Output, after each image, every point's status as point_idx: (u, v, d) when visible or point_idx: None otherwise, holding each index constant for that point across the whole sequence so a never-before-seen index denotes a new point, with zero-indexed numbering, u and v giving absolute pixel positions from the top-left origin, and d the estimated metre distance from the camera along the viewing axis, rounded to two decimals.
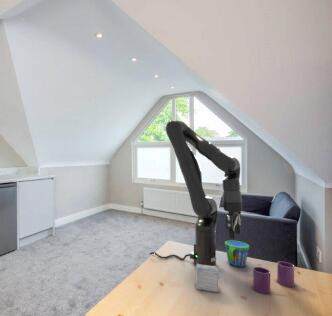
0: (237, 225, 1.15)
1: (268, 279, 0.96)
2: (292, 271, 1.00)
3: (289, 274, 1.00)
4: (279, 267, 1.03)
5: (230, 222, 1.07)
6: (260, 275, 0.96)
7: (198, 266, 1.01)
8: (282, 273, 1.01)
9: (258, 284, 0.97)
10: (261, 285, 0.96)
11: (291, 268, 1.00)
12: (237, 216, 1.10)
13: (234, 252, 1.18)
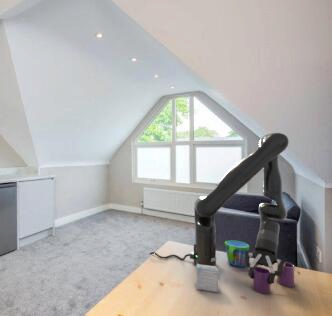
0: None
1: (268, 279, 0.96)
2: (292, 271, 1.00)
3: (289, 274, 1.00)
4: None
5: None
6: (260, 275, 0.96)
7: (198, 266, 1.01)
8: (282, 273, 1.01)
9: (258, 284, 0.97)
10: (261, 285, 0.96)
11: (291, 268, 1.00)
12: None
13: (234, 252, 1.18)
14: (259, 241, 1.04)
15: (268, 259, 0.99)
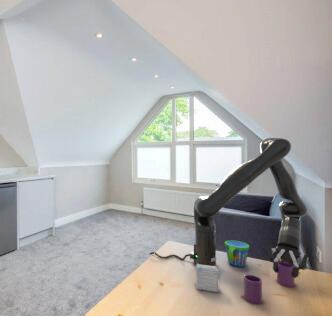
0: None
1: (259, 288, 0.89)
2: (292, 271, 1.00)
3: (288, 274, 1.00)
4: (279, 267, 1.03)
5: (306, 263, 1.01)
6: (251, 284, 0.90)
7: (198, 266, 1.01)
8: (282, 273, 1.01)
9: (249, 293, 0.90)
10: (252, 295, 0.90)
11: (291, 268, 1.00)
12: None
13: (234, 252, 1.18)
14: (282, 237, 1.09)
15: (292, 254, 1.04)
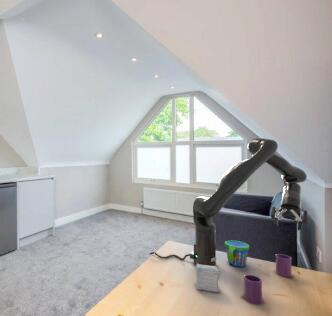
0: (278, 219, 1.24)
1: (259, 288, 0.89)
2: (289, 263, 1.08)
3: (286, 265, 1.08)
4: (277, 259, 1.11)
5: (307, 217, 1.18)
6: (251, 284, 0.90)
7: (198, 266, 1.01)
8: (280, 265, 1.09)
9: (249, 293, 0.90)
10: (252, 295, 0.90)
11: (288, 260, 1.08)
12: None
13: (234, 252, 1.18)
14: (284, 199, 1.26)
15: (293, 212, 1.20)
